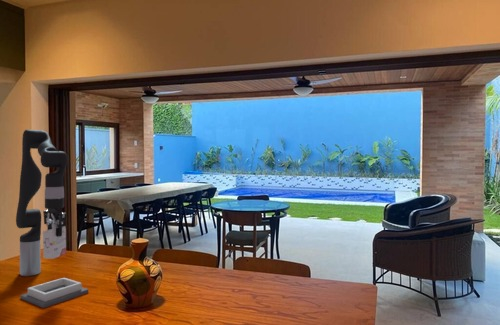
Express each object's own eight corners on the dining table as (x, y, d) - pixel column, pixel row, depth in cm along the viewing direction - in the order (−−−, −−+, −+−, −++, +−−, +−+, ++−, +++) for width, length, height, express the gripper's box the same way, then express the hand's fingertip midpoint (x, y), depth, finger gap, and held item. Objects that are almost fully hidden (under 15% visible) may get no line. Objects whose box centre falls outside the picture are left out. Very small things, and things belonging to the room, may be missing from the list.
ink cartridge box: (56, 253, 168) (56, 220, 167) (66, 253, 167) (66, 221, 166) (42, 258, 159) (42, 224, 159) (52, 259, 158) (52, 224, 158)
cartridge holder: (20, 298, 160) (20, 288, 160) (65, 284, 177) (65, 275, 176) (43, 308, 150) (43, 297, 150) (88, 292, 167) (88, 282, 167)
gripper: (36, 196, 163) (37, 234, 164) (55, 199, 155) (55, 239, 156) (53, 195, 169) (53, 231, 170) (72, 197, 162) (72, 235, 162)
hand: (54, 235), depth 163 cm, fingers closed on ink cartridge box, 6 cm apart
